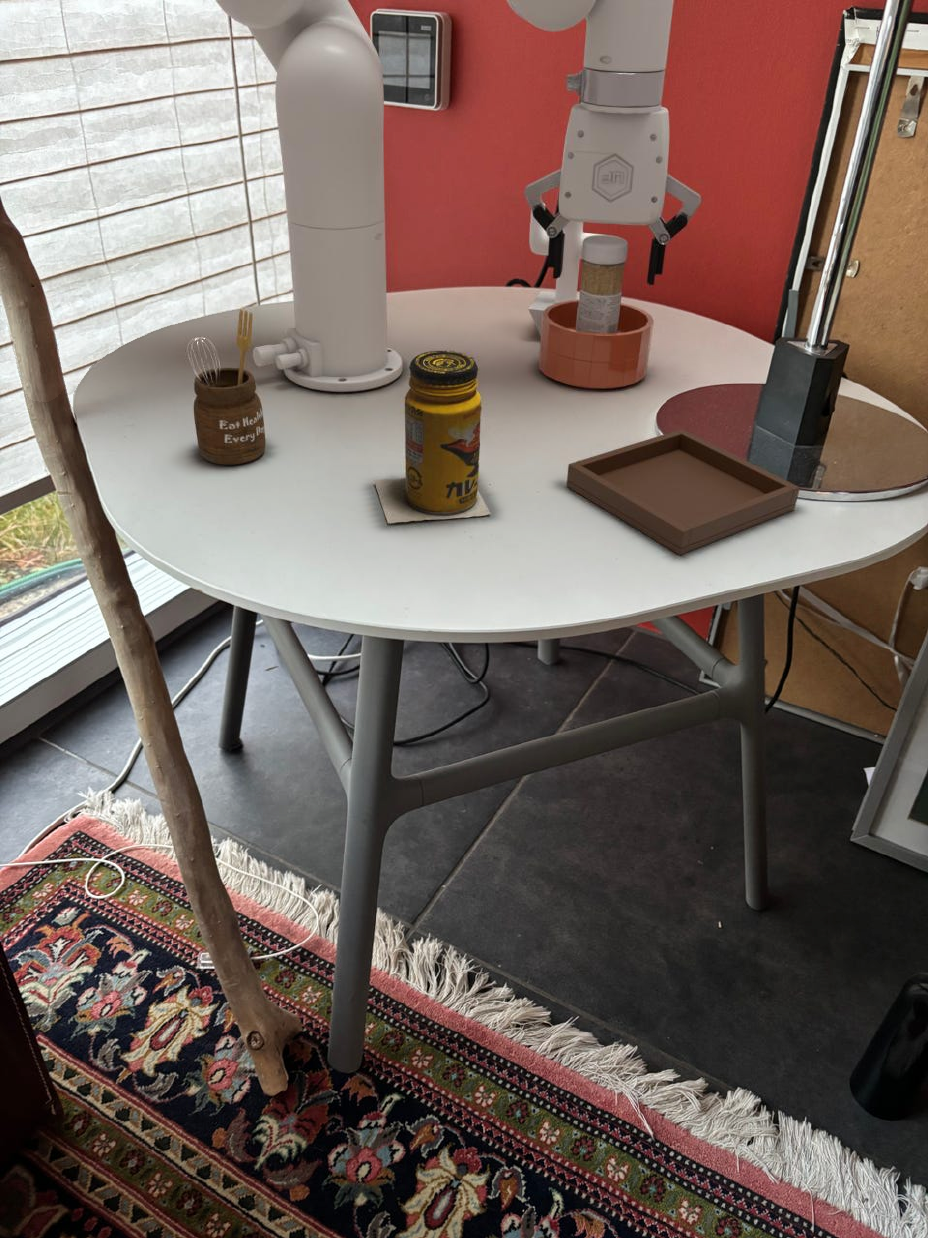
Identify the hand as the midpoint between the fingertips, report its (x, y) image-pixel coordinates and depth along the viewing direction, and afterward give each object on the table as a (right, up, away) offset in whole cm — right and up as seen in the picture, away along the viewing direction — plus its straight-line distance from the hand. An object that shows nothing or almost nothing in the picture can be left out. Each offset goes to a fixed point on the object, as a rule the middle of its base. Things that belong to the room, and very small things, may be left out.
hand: (603, 277), depth 101 cm
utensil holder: (-35, -20, -13) cm, 42 cm away
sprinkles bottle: (0, -8, +6) cm, 10 cm away
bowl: (0, -8, +6) cm, 10 cm away
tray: (+4, -25, -18) cm, 31 cm away
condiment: (-17, -25, -19) cm, 36 cm away
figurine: (-3, -1, +16) cm, 16 cm away
